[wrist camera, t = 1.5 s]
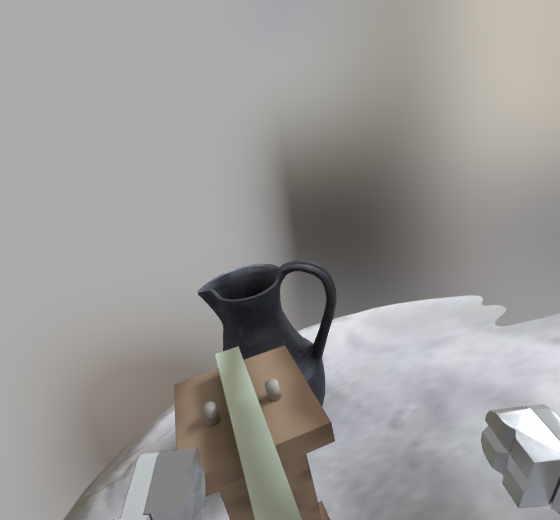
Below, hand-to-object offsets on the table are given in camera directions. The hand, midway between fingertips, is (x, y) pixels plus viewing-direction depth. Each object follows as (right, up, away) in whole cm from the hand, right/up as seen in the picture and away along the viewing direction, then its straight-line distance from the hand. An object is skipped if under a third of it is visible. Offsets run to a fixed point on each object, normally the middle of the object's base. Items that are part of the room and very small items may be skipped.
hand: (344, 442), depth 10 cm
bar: (-4, -9, +18) cm, 21 cm away
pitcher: (+1, -24, +51) cm, 57 cm away
